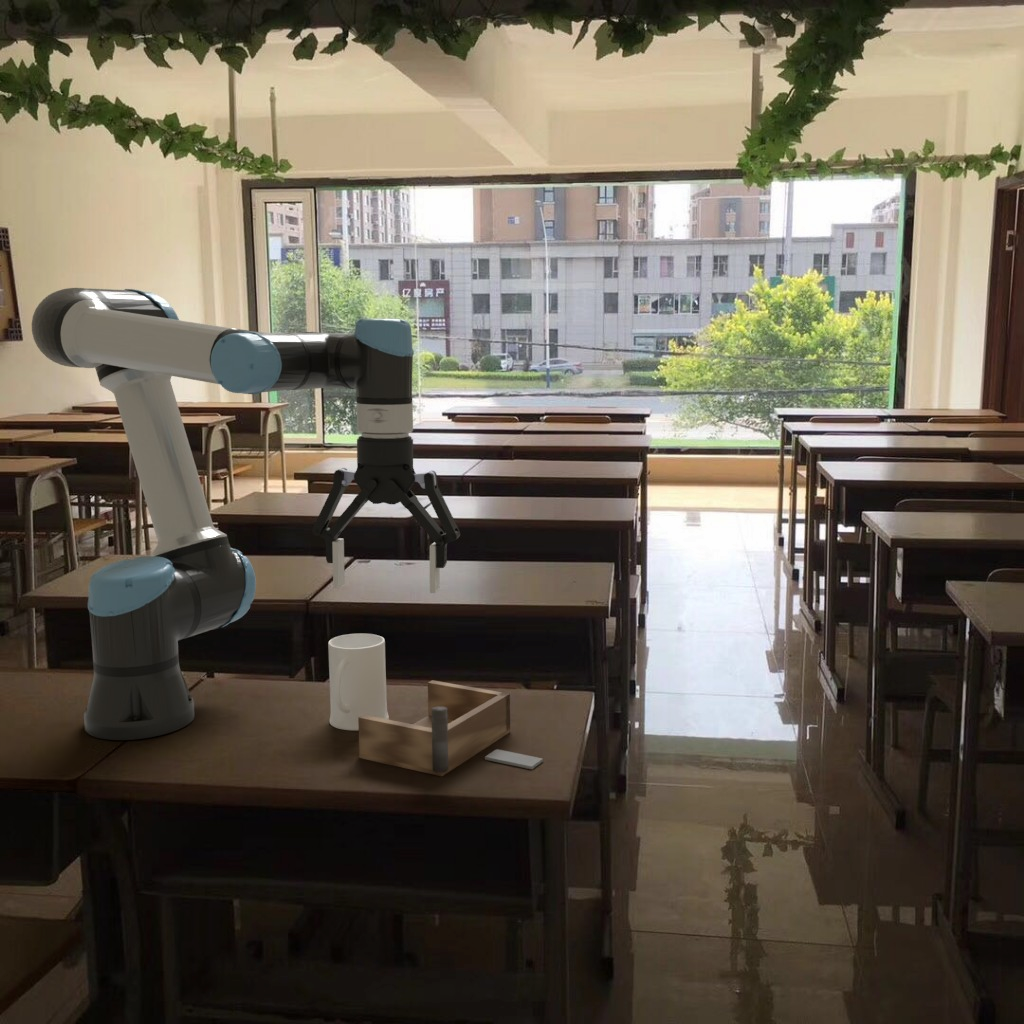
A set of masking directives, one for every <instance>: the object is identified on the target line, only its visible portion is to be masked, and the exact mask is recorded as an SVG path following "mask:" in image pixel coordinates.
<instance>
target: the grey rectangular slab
mask: <svg viewBox="0 0 1024 1024" xmlns="http://www.w3.org/2000/svg"><path fill="white" fill-rule="evenodd" d="M484 760H485V761H490V762H494V763H495V762H496V763H500V764H504V765H508V766H513V767H519V768H523V769H528V770H533V769H535V768H536V767H537V766H539V765H540V764H542V763H543V762H544V759H543V758H541V757H537V756H532V755H528V754H522V753H518V752H514V751H513V752H512V751H507V750H503V749H498V748H497V749H495V750H493V751H492V752H490V753H488V754H487V755H486V756H484Z"/></svg>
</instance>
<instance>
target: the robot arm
mask: <svg viewBox="0 0 1024 1024" xmlns="http://www.w3.org/2000/svg"><path fill="white" fill-rule="evenodd" d="M31 332H32V337H33V338H32V339H33V340H34V343H35V345H36V346H37V348H38V349H39V351H40V352H41V354H43V356H45V357H46V359H48V360H51V362H54V363H55V364H58V365H61V366H65V367H70V368H78V369H79V368H82V369H83V368H84V369H94V368H95V372H96V375H97V378H98V382H99V385H100V386H101V387H102V388H105V389H106V390H108V391H110V392H111V393H112V394H113V395H114V398H115V403H116V405H117V409H118V412H119V416H120V420H121V423H122V425H123V429H124V433H125V435H126V438H127V443H128V446H129V449H130V452H131V456H132V458H133V462H134V463H133V464H134V465H135V466H134V467H135V469H136V473H137V476H138V480H139V483H140V487H141V489H142V493H143V497H144V499H145V503H146V506H147V510H148V513H149V516H150V520H151V523H152V527H153V530H154V532H155V537H156V539H157V540H156V541H157V544H156V547H155V548H154V550H153V552H152V554H151V555H150V556H137V557H134V558H132V559H130V558H126V559H122V560H118V561H115V562H112V563H109V564H106V565H105V566H102V567H100V568H99V569H98V570H97V571H95V572H94V573H92V575H91V577H90V579H89V581H88V599H87V609H88V614H89V624H90V626H89V627H90V634H91V647H92V649H91V650H92V661H93V662H92V665H93V679H92V683H91V684H92V685H91V687H90V690H89V692H90V693H89V697H88V702H87V706H86V708H85V711H84V713H83V720H84V731H85V732H86V733H87V734H88V735H90V736H92V737H94V738H97V739H102V740H110V741H111V740H112V741H132V740H133V741H134V740H142V739H149V738H155V737H158V736H159V737H160V736H163V735H166V734H169V733H173V732H176V731H178V730H180V729H182V728H184V727H186V726H188V725H190V723H192V721H193V720H194V719H195V715H196V714H195V701H194V698H193V696H192V695H191V694H190V689H189V688H188V685H187V682H186V679H185V677H184V675H183V673H182V670H181V668H180V662H179V661H180V660H179V643H178V642H179V641H181V640H183V639H187V638H190V637H194V636H196V635H199V634H202V633H206V632H209V631H212V630H217V629H220V628H224V627H226V626H228V625H229V624H230V623H231V624H232V623H233V622H236V621H238V620H239V619H241V618H243V616H245V615H246V614H247V613H248V611H249V609H250V608H251V605H252V603H253V601H254V600H255V595H256V590H257V579H256V574H255V571H254V567H253V565H252V563H251V561H250V559H249V558H248V557H247V556H246V555H243V552H242V551H240V550H239V549H236V548H233V547H231V544H230V542H229V541H230V540H229V538H228V534H227V533H224V532H222V531H221V530H219V529H217V528H216V527H215V526H214V522H213V520H212V515H211V513H210V511H209V510H210V509H209V507H208V503H207V500H206V496H205V493H204V490H203V486H202V483H201V480H200V475H199V473H198V469H197V465H196V463H195V460H194V456H193V452H192V449H191V446H190V443H189V439H188V436H187V433H186V429H185V426H184V422H183V418H182V415H181V413H180V409H179V406H178V402H177V399H176V395H175V392H174V389H173V388H174V387H173V385H172V381H171V379H172V377H175V378H176V377H177V378H181V379H182V378H183V379H188V380H193V381H194V380H195V381H198V382H205V383H210V384H216V385H220V386H221V387H222V388H223V389H224V390H225V391H228V392H230V393H233V394H243V395H258V394H261V393H270V392H272V393H273V392H280V391H281V392H282V391H297V390H298V391H300V390H314V389H347V390H348V389H349V390H355V397H356V402H355V403H356V431H357V433H360V434H361V435H359V436H358V438H357V439H356V464H357V465H356V466H357V467H356V471H353V470H348V469H347V468H345V467H342V468H339V469H337V470H334V472H333V482H332V487H331V490H330V492H329V494H328V495H327V498H326V499H325V502H324V504H323V506H322V508H321V511H320V512H319V514H318V517H317V518H316V521H315V523H314V524H313V527H312V530H311V534H312V535H313V536H317V537H320V538H323V539H324V541H325V559H326V563H327V564H332V580H333V581H332V585H333V589H340V588H342V586H344V585H345V540H344V539H345V538H341V537H339V536H340V534H341V533H342V531H344V529H345V528H346V527H347V525H349V523H350V522H351V521H352V520H353V519H354V517H356V515H357V514H358V513H359V512H360V511H361V509H362V508H363V507H364V506H365V504H367V503H368V502H370V503H372V504H374V505H375V504H377V505H378V504H383V503H384V504H386V505H396V504H399V503H401V505H402V506H403V507H404V509H406V510H408V512H409V513H410V514H411V515H412V516H413V518H414V519H415V520H416V521H417V523H418V524H419V525H420V527H422V528H423V530H424V531H425V532H426V534H427V535H428V536H429V537H430V539H431V540H432V541H433V543H431V544H430V545H429V593H430V594H436V593H437V591H439V590H440V569H444V568H445V567H446V566H447V563H448V559H447V558H448V556H447V553H448V549H447V548H448V547H447V546H448V544H449V543H451V542H452V543H453V542H456V540H457V539H459V537H460V536H461V532H460V529H459V527H458V525H457V522H456V521H455V519H454V517H453V515H452V513H451V511H450V508H449V507H448V504H447V502H446V500H445V498H444V496H443V494H442V492H441V490H440V488H439V486H438V485H439V484H438V477H437V476H438V475H437V472H436V471H435V470H429V471H428V472H419V473H416V472H415V468H414V439H413V438H412V436H411V435H409V434H410V433H413V431H414V411H413V408H414V406H413V404H414V403H413V364H414V361H413V360H414V359H413V357H414V354H415V353H414V349H413V337H412V326H411V324H410V322H408V320H406V319H402V318H359V319H357V321H355V326H354V332H353V333H352V332H350V333H342V332H341V333H340V332H317V331H300V332H282V333H281V332H264V331H263V332H261V331H254V330H246V329H239V328H232V327H225V326H218V325H212V324H207V323H200V322H192V321H186V320H180V319H179V316H178V314H177V312H176V311H175V309H174V308H173V306H171V304H170V303H169V301H167V300H166V299H164V297H161V296H160V295H158V294H156V293H152V292H149V291H142V290H139V289H135V288H134V289H133V288H125V289H109V288H108V289H107V288H84V287H67V288H63V289H62V288H61V289H60V290H57V291H54V292H52V293H50V294H48V295H46V296H45V298H43V299H42V301H40V302H39V304H38V305H37V307H36V308H35V310H34V313H33V315H32V319H31ZM353 480H354V482H355V483H356V485H357V487H358V488H359V489H360V491H359V492H358V494H357V495H356V496H355V497H354V498H353V500H352V502H351V503H350V504H349V505H348V506H347V507H346V509H345V510H344V511H343V513H341V514H340V516H338V518H337V519H336V521H335V522H334V523H333V524H332V525H331V527H328V526H329V524H330V522H331V520H332V518H333V515H334V513H335V512H336V509H337V507H338V505H339V503H340V501H341V500H342V499H341V498H342V496H343V495H344V493H345V492H346V491H345V490H346V488H347V487H348V486H349V485H351V484H352V481H353ZM416 483H418V484H419V485H420V487H421V488H422V489H425V492H426V493H425V494H426V497H428V500H429V502H430V504H431V506H432V508H433V510H434V512H435V514H436V516H437V519H438V520H439V522H440V524H441V526H442V527H440V526H439V524H438V523H437V522H436V521H435V519H434V518H433V517H432V516H431V514H430V513H429V512H428V511H427V509H426V508H425V507H424V506H423V505H422V503H421V502H420V501H419V499H418V497H417V495H415V493H414V492H413V491H412V488H413V487H414V485H415V484H416ZM338 537H339V538H338Z"/></svg>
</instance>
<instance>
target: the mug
mask: <svg viewBox="0 0 1024 1024" xmlns="http://www.w3.org/2000/svg"><path fill="white" fill-rule="evenodd" d="M327 647H328V668H329V669H328V670H329V673H328V674H329V695H330V696H329V699H330V715H329V716H330V717H329V720H328V721H329V724H330V725H331V726H332V727H333V728H336V729H339V730H343V731H353V732H354V731H358V732H359V725H358V717H360V716H362V715H368V716H373V717H378V718H383V719H388V720H390V717H389V713H388V705H387V703H388V702H387V676H386V675H387V674H386V671H387V670H386V641H385V638H384V637H383V636H380V635H377V634H373V633H349V634H342V635H338V636H335V637H332V638H331V639H330V640H329V641H328V646H327Z"/></svg>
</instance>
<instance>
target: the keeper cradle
mask: <svg viewBox="0 0 1024 1024" xmlns="http://www.w3.org/2000/svg"><path fill="white" fill-rule="evenodd" d="M427 704H428V705H427V707H428V715H427V716H425V717H423V718H422V719H420V720H417V721H416V722H415V723H408V722H403V721H398V720H394V719H393V720H392V719H383V718H378V717H373V716H368V715H362V716H360V717H358V725H359V730H358V748H359V750H358V751H359V754H358V755H359V758H360V759H363V760H368V761H371V762H376V763H381V764H386V765H390V766H393V767H399V768H402V769H407V770H412V771H417V772H421V773H425V774H428V775H429V774H430V775H434V776H439V777H443V776H445V775H446V774H448V773H450V772H451V771H453V770H454V769H456V768H457V767H459V766H461V765H462V764H464V763H465V762H467V761H468V760H469V759H471V758H473V757H474V756H476V755H477V754H478V753H481V752H482V751H483V750H485V749H487V748H488V747H490V746H491V745H493V744H494V743H495V742H497V741H499V740H500V739H502V738H503V737H505V736H507V735H508V734H510V733H511V693H507V692H501V691H495V690H491V689H484V688H478V687H473V686H469V685H468V686H467V685H461V684H458V683H457V684H455V683H450V682H443V681H440V680H439V681H438V680H433V679H432V680H430V681H428V682H427Z"/></svg>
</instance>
